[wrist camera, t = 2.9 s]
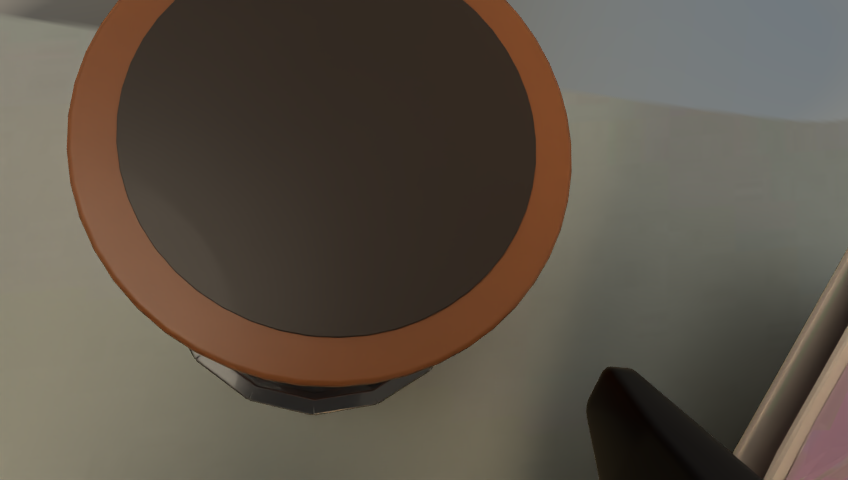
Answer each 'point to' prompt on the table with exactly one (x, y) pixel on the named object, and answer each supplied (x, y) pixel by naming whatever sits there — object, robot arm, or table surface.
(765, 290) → the table surface
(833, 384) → the beige angled flat-armed piece
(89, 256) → the table surface
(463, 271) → the orange cylindrical vase
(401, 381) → the enamel pot
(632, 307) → the table surface
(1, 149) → the table surface
